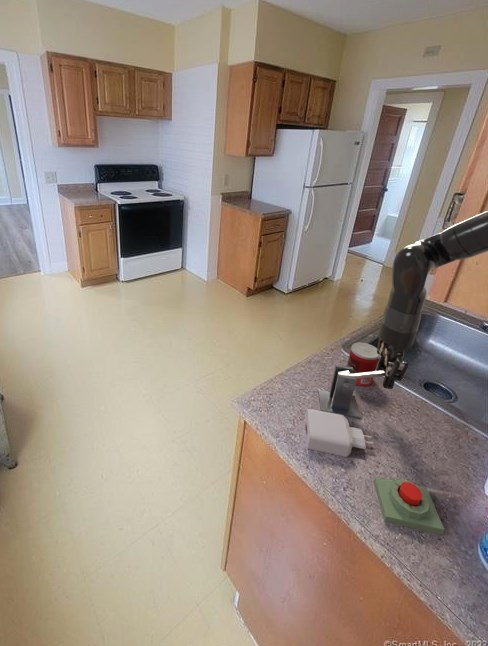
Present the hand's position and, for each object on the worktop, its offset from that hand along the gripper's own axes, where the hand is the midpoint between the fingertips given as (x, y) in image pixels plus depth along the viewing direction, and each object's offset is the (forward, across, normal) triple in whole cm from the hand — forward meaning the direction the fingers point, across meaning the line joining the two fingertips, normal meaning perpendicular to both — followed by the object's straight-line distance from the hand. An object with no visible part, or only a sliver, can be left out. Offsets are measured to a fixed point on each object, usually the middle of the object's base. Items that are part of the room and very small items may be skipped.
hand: (384, 379), depth 83 cm
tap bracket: (+11, 0, +10) cm, 15 cm away
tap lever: (+1, 0, +5) cm, 5 cm away
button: (+8, -25, +1) cm, 26 cm away
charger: (+11, -12, +12) cm, 20 cm away
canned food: (+11, +13, +2) cm, 17 cm away
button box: (+11, -25, +1) cm, 27 cm away
